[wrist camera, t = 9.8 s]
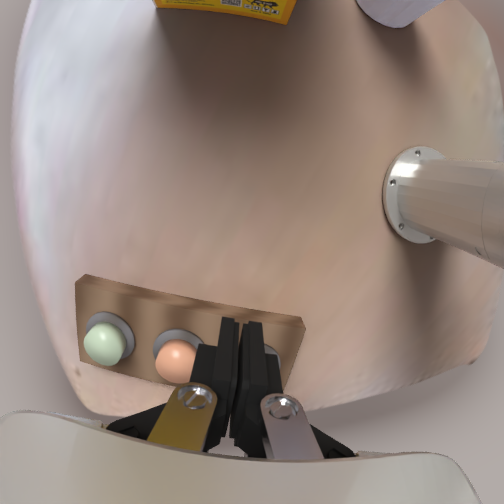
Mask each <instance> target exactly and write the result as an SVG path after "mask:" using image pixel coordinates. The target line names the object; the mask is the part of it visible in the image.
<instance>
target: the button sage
mask: <svg viewBox="0 0 504 504" xmlns="http://www.w3.org/2000/svg"><path fill="white" fill-rule="evenodd" d="M84 347H85V350H86V352H87V354H88V355H89V356H90V357H91V358H92V359H93V360H94V361H95V362H97V363H99V364H101V365H105V366H112V365H115V364H116V363H117V362H118V361H119V360H120V358H121V356H122V354H123V352H124V350H125V348H126V338H125V336H124V334H123V332H122V331H121V330H120V329H119V328H118V327H117V326H115V325H114V324H112V323H109V322H104V321H103V322H98V323H96V324H95V325H94V326H93V327H92V328H91V330H90V331H89V332H88V334H87V335H86V336H85V338H84Z"/></svg>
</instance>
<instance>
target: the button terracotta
mask: <svg viewBox="0 0 504 504" xmlns="http://www.w3.org/2000/svg"><path fill="white" fill-rule="evenodd" d="M196 352H197V349H196V348H195V347H194V346H193V345H192V344H191V343H189V342H187V341H185V340H181V339H171V340H168V341H166V342H165V343H163V344H162V346H161V348H160V350H159V353H158V356H157V359H156V362H155V366H156V369H157V371H158V373H159V374H160V375H161V376H162V377H163V378H164V379H166V380H167V381H170V382H173V383H179V384H181V383H187V382H189V380H190V376H191V372H192V368H193V364H194V360H195V356H196Z"/></svg>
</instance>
